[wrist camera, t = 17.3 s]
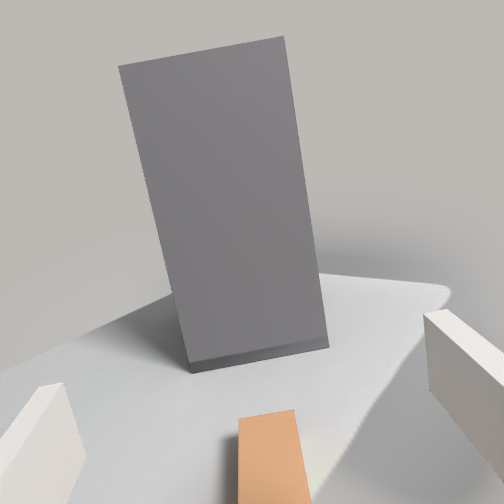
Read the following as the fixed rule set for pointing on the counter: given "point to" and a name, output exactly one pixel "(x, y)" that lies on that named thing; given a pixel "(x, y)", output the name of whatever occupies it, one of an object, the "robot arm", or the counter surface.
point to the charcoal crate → (229, 201)
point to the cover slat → (271, 461)
